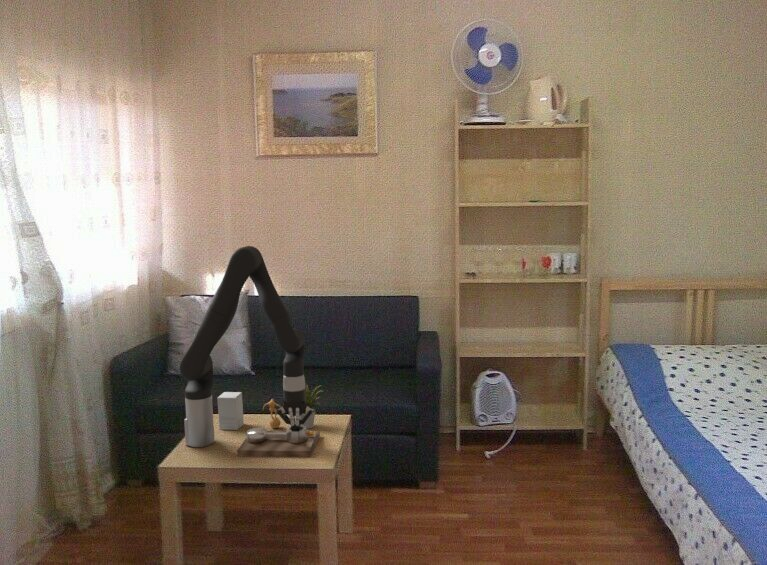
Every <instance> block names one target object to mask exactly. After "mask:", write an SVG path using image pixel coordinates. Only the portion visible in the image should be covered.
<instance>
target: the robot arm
mask: <svg viewBox="0 0 767 565" xmlns="http://www.w3.org/2000/svg"><path fill="white" fill-rule="evenodd" d="M248 278H250V280H251V281H252V283H253V285H254V287H255V289H256V292H257V294H258V295H257V296H258V298H259V302H260V305H261V307H262V310H263V312H264V314H265V316H266V317H267V320H268V321H269V322H270V325H271V326H272V328H273V332H274V335H275V339H276V340H277V344H278V345H279V347H280V349H282V351H284V352H285V357H284V359H283V362H282V363H283V364H282V367H283V372H282V374H283V378H282V387H283V390H282V391H283V393H282V394H283V403H282V406H281V408H280V407H279V408H278V409H277V415H278V416H279V417H280V418H281V419H282V421H284V423H285V424H286V425H290V426H291V430H292V431H299V430H300V425H301V424H304V423H305V421H306V420H307V419H308V418H309V416H310V415H311V414H312V412H313V409H314V408H313V407H312V408H313V409H312V408H311V409H310V408H309V407H308V406H307V403H306V395H305V393H306V379H305V371H304V370H305V368H304V366H305V365H304V364H305V363H304V357H305V350H306V349H305V347H306V339H305V338H306V336H305V335H304V333H303V332H302V331H301V330H300V329H298V328H293V325H292V324H291V321H292V320H291V319H292V317H291V315H290V312H289V311H288V309H287V307H286V305H285V304H284V302H283V300H282V299H281V297H280V295H279V293H278V291H277V289H276V287H275V285H274V283H273V281H272V278H271V275H270V273H269V271H268V268H267V266H266V263H265V260H264V257H263V255H262V253H261V251H260V250H259V249H258V248H257V247H255V246H252V245H246V246H243V247H239V248H237V249H235V250H234V251H233V252H232V254H231V256H230V258H229V260H228V263H227V267H226V270H225V272H224V275H223V278H222V280H221V281H220V284H219V286H218V288H217V289H216V291H215V293H214V295H213V297H212V299H211V301H210V302H209V304H208V307H207V309H206V311H205V312H204V315H203V319H202V320H201V323H200V325H199V327H198V330H197V332H196V335H195V336H194V338H193V341H192V342H191V344H190V346H189V347H188V349H187V351H186V352H185V354H184V355H183V357H182V358H181V360H180V363H179V373H180V375H181V377H183V379H185V380H187V384H186V387H185V388H184V400H185V418H184V436H185V439H184V440H185V446H189V447H192V448H205V447H207V446H210V445H213V444H214V443H215V425H214V411H213V408H214V406H213V393H212V392H213V387H214V364H213V358H212V357H211V353H212V351H213V349H214V348H215V346H216V345H217V344H218V342H219V341H220V340H221V339H222V338H223V336H224V335H225V333H226V332H227V330H228V329H229V327H230V325H231V324H232V321H233V319H234V317H235V315H236V313H237V310H238V306H239V302H240V301H239V300H240V295H241V292H242V289H243V287H244V286H245V284H246V281H247V280H248ZM305 409H306V415H305V416H304V418H303V419H302V420H301V415H302V413H303V412H304V411H305ZM288 415H289V416H288Z"/></svg>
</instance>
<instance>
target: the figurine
mask: <svg viewBox="0 0 767 565" xmlns="http://www.w3.org/2000/svg"><path fill="white" fill-rule="evenodd" d="M274 400H275V399H274V398H271V400H270V401H268V402H267V403H264V404H263V407H262V411H264V410H265V406H269V409H268V410H269V411H270V417H271V419H270V421H269V426H270V427H271V429H277V428H279V427H280V426H281V420H280V419H279V418H278V417H277V416H278V413H277V411H278V409H277V408H275V407H276V406H277V407H279V408H281V407H282V406H281V404H278V403H277V402H275V401H274ZM273 412H274V414H273ZM273 415H274V416H273Z"/></svg>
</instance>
